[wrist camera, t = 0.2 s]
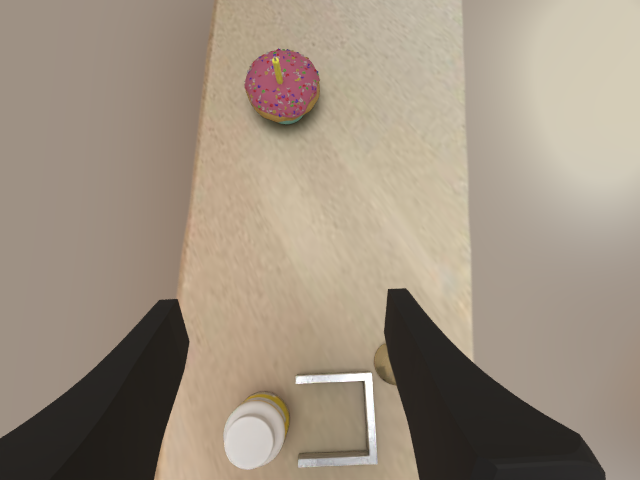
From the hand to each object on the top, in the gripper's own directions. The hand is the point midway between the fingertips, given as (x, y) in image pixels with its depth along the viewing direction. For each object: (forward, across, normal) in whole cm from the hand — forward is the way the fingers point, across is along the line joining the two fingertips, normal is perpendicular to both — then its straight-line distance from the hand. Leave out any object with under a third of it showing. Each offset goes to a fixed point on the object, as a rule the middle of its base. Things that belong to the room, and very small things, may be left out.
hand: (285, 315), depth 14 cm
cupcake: (+41, +1, +4) cm, 41 cm away
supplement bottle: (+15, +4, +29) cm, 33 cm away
